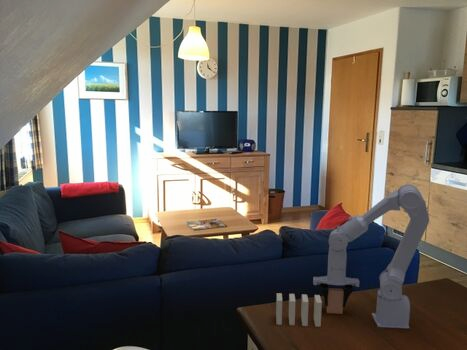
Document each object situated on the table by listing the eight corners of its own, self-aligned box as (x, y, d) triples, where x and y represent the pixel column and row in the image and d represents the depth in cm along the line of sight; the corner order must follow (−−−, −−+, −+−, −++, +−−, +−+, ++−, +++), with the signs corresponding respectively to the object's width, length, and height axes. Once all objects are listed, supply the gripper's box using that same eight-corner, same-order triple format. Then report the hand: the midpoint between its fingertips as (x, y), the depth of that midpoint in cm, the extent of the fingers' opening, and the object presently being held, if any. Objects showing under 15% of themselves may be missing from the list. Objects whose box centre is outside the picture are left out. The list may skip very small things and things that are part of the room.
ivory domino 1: (281, 316, 130) (281, 293, 129) (281, 324, 125) (282, 300, 124) (276, 316, 130) (276, 293, 129) (276, 324, 125) (277, 300, 124)
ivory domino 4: (318, 318, 129) (319, 295, 128) (320, 326, 124) (321, 302, 123) (313, 318, 129) (314, 294, 128) (315, 326, 124) (316, 302, 123)
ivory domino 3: (306, 317, 129) (306, 294, 128) (307, 326, 124) (308, 302, 123) (301, 317, 129) (301, 294, 128) (302, 325, 124) (303, 301, 123)
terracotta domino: (326, 310, 134) (327, 288, 133) (341, 311, 133) (342, 288, 132) (327, 313, 132) (328, 290, 131) (342, 313, 132) (343, 291, 131)
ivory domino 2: (293, 317, 130) (294, 293, 128) (294, 325, 125) (295, 301, 123) (288, 316, 130) (289, 293, 128) (289, 325, 125) (290, 301, 123)
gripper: (356, 262, 134) (354, 300, 136) (312, 260, 135) (311, 298, 137) (361, 271, 127) (359, 311, 129) (315, 269, 128) (313, 308, 130)
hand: (334, 305), depth 132 cm, fingers closed on terracotta domino, 5 cm apart
